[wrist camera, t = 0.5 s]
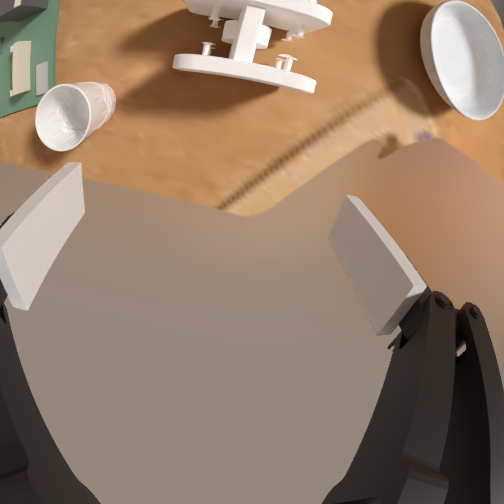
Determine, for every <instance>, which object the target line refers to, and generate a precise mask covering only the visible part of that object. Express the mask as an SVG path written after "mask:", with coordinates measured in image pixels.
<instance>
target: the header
mask: <svg viewBox="0 0 504 504" xmlns="http://www.w3.org/2000/svg"><path fill="white" fill-rule="evenodd" d="M10 52H13V62H12V86H13V90H10V97H11V96H14V95H17V94H20V93H23V92H26V91H29V90H30V53H31V41H18V42H16V43H14V44H13V46H11V48H10Z"/></svg>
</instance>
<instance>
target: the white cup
mask: <svg viewBox="0 0 504 504" xmlns="http://www.w3.org/2000/svg"><path fill="white" fill-rule="evenodd" d="M115 106H116V97H115V94H114V91H113V90H112V89H111V88H110V87H109V86H108V85H107V84H105V83H102V82H77V83H68V84H61V85H57V86H55V87H53V88H51V89H50V90H49V91H48V92H47V93H46V94H45V95H44V96H43V97H42V99H41V100H40V102H39V104H38V107H37V110H36V116H35V125H36V130H37V133H38V136H39V138H40V139H41V141H42V142H43V143H44V144H45V145H46V146H47V147H48V148H50V149H52V150H55V151H68V150H70V149H73V148H74V147H76V146H77V145H78V144H80V143H81V142H82V141H83V140H85V139H86V138H87V137H89V136H90V135H91V134H92V133H94V132H95V131H96V130H97V129H99V128H100V127H101V126H102V125H103V124H104V123H105V122H107V121H108V120H109V119H110V118H111V116H112V114H113V113H114V111H115Z"/></svg>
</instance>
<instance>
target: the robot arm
mask: <svg viewBox="0 0 504 504" xmlns="http://www.w3.org/2000/svg"><path fill="white" fill-rule="evenodd" d="M84 213H85V208H84V198H83V187H82V172H81V163H67V164H66V165H64V166H63V167H62V168H61V169H60V170H59V171H57V172H56V173H55V174H54V175H53V176H52V177H51V178H50V179H49V180H47V181H46V182H45V183H44V184H43V185H42V186H41V187H40V188H39V189H38V190H37V191H36V192H35V193H34V194H33V195H32V196H31V197H30V198H29V199H28V200H27V201H26V202H25V203H24V204H23V205H22V206H21V207H20V208H19V209H18V210H17V211H16V212H14V213H13V214H11V215H10V216H8V217H7V219H6V220H5V221H4V222H3V223H2V225H1V226H0V504H100V502H99V501H98V500H97V498H96V497H95V496H94V495H93V494H92V492H91V491H90V490H89V489H88V488H87V487H86V486H85V485H83V484H82V483H81V482H80V481H79V480H78V479H77V478H76V476H75V475H74V474H73V472H72V471H71V469H70V468H69V466H68V464H67V463H66V461H65V459H64V458H63V456H62V454H61V453H60V451H59V449H58V447H57V445H56V444H55V442H54V440H53V438H52V437H51V434H50V432H49V430H48V428H47V426H46V425H45V422H44V420H43V418H42V416H41V414H40V412H39V409H38V407H37V405H36V403H35V400H34V398H33V396H32V393H31V390H30V388H29V385H28V383H27V380H26V377H25V374H24V371H23V368H22V365H21V362H20V359H19V356H18V352H17V349H16V345H15V342H14V338H13V334H12V330H11V326H10V322H9V317H8V313H7V309H6V307H5V305H4V301H5V299H6V297H7V296H8V298H9V300H10V302H11V304H12V306H13V307H15V308H19V309H23V310H28V309H29V307H30V305H31V303H32V301H33V299H34V297H35V295H36V293H37V291H38V289H39V287H40V285H41V283H42V281H43V279H44V278H45V276H46V274H47V272H48V270H49V269H50V267H51V265H52V263H53V262H54V260H55V258H56V257H57V255H58V253H59V252H60V250H61V248H62V247H63V245H64V243H65V242H66V240H67V239H68V237H69V236H70V234H71V233H72V231H73V229H74V228H75V227H76V225H77V223H78V222H79V221H80V219H81V218H82V216H83V215H84ZM328 239H329V241H330V243H331V245H332V246H333V248H334V250H335V252H336V254H337V256H338V258H339V259H340V261H341V263H342V265H343V267H344V269H345V271H346V273H347V275H348V277H349V279H350V281H351V283H352V285H353V287H354V289H355V291H356V293H357V295H358V297H359V299H360V301H361V303H362V305H363V307H364V309H365V311H366V313H367V316H368V318H369V319H370V322H371V324H372V326H373V328H374V331H375V333H376V335H377V336H378V335H389V334H391V333H392V332H393V331H394V329H395V328H396V327H397V326H398V325H399V326H400V328H401V330H402V331H401V332H400V333H399V334H398V335H397V337H396V338H395V339H394V340H393V341H392V343H391V344H390V345H389V346H388V349H390V348H391V347H392V346H394V345H395V346H394V349H393V350H392V351H393V354H392V358H391V361H390V365H389V368H388V371H387V375H386V378H385V381H384V384H383V387H382V390H381V393H380V396H379V399H378V402H377V405H376V407H375V410H374V412H373V415H372V418H371V420H370V423H369V425H368V428H367V430H366V432H365V435H364V437H363V440H362V442H361V444H360V446H359V448H358V451H357V453H356V455H355V457H354V459H353V461H352V463H351V465H350V467H349V469H348V471H347V473H346V475H345V477H344V478H343V479H342V480H341V481H340V482H339V483H338V484H337V485H336V486H334V487H333V488H332V490H331V491H330V492H329V493H328V495H327V496H326V498H325V499H324V501H323V503H322V504H504V391H503V386H502V381H501V376H500V372H499V367H498V363H497V359H496V356H495V352H494V349H493V345H492V341H491V338H490V335H489V332H488V329H487V326H486V323H485V320H484V317H483V315H482V313H481V312H480V310H479V308H478V307H477V306H476V305H474V304H472V303H469V302H466V303H465V304H464V305H463V307H462V308H461V309H460V310H458V309H455V308H454V306H453V304H452V302H451V301H450V300H449V298H448V297H447V296H445V295H444V294H443V293H441V292H438V291H433V292H432V291H431V290H430V288H429V287H428V285H427V284H426V282H425V281H424V280H423V278H422V277H421V275H420V274H419V273H418V272H417V270H416V268H415V267H414V266H413V265H412V263H411V261H410V260H409V259H408V257H407V256H406V255H405V254H404V253H403V252H402V251H401V249H400V248H399V247H398V245H397V244H396V243H395V242H394V240H393V239H392V238H391V236H390V235H389V234H388V233H387V231H386V230H385V229H384V228H383V227H382V225H381V224H380V223H379V221H378V220H377V219H376V218H375V217H374V216H373V214H372V213H371V212H370V211H369V210H368V209H367V207H366V206H365V205H364V204H363V203H362V202H361V201H360V199H359V198H358V197H354V196H350V195H345V197H344V200H343V203H342V205H341V208H340V210H339V213H338V215H337V218H336V220H335V222H334V225H333V228H332V230H331V232H330V235H329V237H328ZM464 344H466V350H465V351H464V352H463V353H462V354H461V355H460V356H459V357H458V356H457V351H458V350H459V349H460V348H461V347H462V346H463V345H464Z"/></svg>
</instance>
